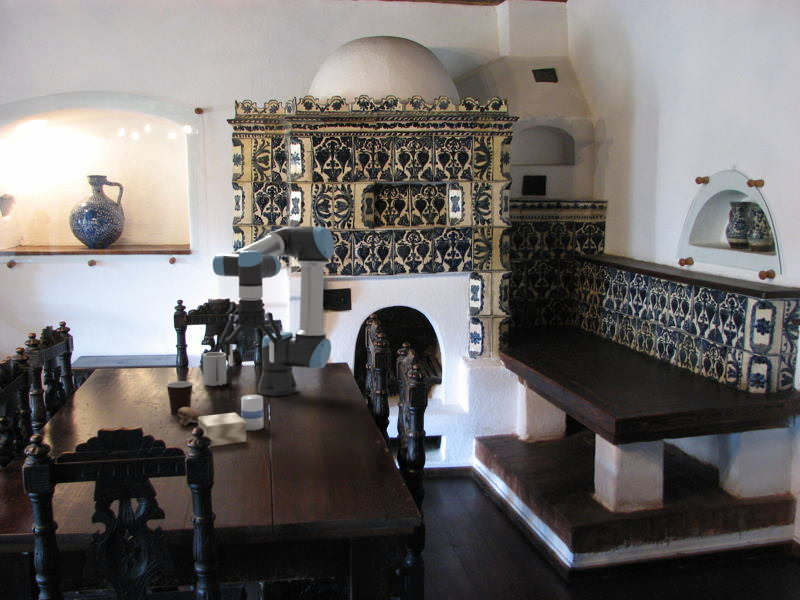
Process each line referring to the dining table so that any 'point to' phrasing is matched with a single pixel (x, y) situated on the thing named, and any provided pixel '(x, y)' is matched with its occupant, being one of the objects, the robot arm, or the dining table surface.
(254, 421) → the white blue-banded canister
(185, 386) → the coffee mug
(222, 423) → the birch block
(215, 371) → the cup
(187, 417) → the mushroom
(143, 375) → the dining table surface
